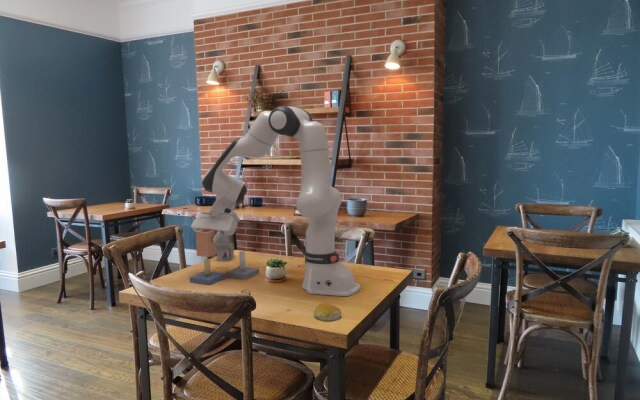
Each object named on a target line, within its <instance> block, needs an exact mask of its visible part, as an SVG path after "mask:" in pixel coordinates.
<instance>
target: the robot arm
mask: <svg viewBox="0 0 640 400" xmlns="http://www.w3.org/2000/svg"><path fill="white" fill-rule="evenodd" d="M279 135H281V136H286V137H290V138H292V137H294V138H296V140H297V141H298V146H299V147H298V149H299V155H300V157H299V158H300V164H301V165H300V167H301V179H300V180H301V183H300V191H299V195H298V197H297V199H296V203H295V205H296V209H297V212H298V214H299V215H301V216H302V217H304V218H308V219H309V223H308V226H307V228H306V231H305V251H304V264H305V270H304V271H305V273H304V278H303V281H302V284H301V286H302V289H304V291H306V292H307V293H308V294H310V295H323V296H324V295H325V296H335V297H338V296H339V297H350V296H353V295H355V294H356V293H357V292H359V290H360V289H361V285H360V283H357V282H355V277H354V273H353V271H352V269H351V270H350V269H349V268H348V267H347V266H346V265H345V264H343V263H342V262H341V261H340V257H341V253H340V252H339V253H337V251H336V250H335V238H336V237H335V233H336V226H337V220H338V214H339V208H340V206H341V204H342V202H343V201H342V199H343V198H342V194H341V192H340V191H339V189H337V188H335V187H334V186H329V178H330V177H329V176H330V174H331V172H332V166H331V158H330V150H329V142H328V137H327V133H326V129H325V127H324V125H323V124H322V123H321V122H319V121H314V120H313V117H312V116H311V114H310V113H309V111H307V110H305V109H303V108H298V107H295V106H289V105H288V106H287V105H278V106H277V107H275V108H273V109H272V110H263V111H261V112H260V113H259V114H258V115H257V117H256V118H255V120H254V121H253V122H252V124H251V126H250V128H249V129H248V131H247V133H246V134H245V135H244V136H242V137H241V138H240V137H239V138H235V139H233V141H232V142H231V143H230V144H229V145H228V147H227V148H225V149H224V151H223V152H222V154H221V156H219V157H218V158H217V160H216V162H215V163H214V164H213V165H212V167H211V168H210V169H208V170H207V172H206V173H205V174H204V175H203V177H202V180H201V184H202V187H203V189H204V191H206V192H209V193H210V194H214V195H216V196H217V199H216V200H215V201H214V202H213V203H212V206H211V207H210V210H209V211H208V212H204V211H202V213H201V212H200V213H199V214H198V215H197V216H196V217H195V218H194V220H193V222H192V223H191V225H190V227H191V229H192V231H193V232H195V233H196V231H200V230H204V229H205V230H215V231H216V235H215V236H214V237H212V239H211V241H212V242H214V243H216V244H217V242H216V241H217V239H219V238H220V237H221V236H222V235H233V236H234V234H235V232H236V230H237V228H238V225H239V224H238V223H239V222H240V221H241V220H240V217H239V216H238V214H237V213H236V212H235V210H234V209H235V207H236V206H239V205H241V204H242V203H243V201H244V198H245V196H246V194H247V193H248V188H247V185H246V183H244V182H243V181H242V180H239V179H237V178H235V177H234V176H231V175H229V174H227V173H226V172H224V171H223V170H224V169H225V167H227V165H228V164H229V162H230V161H231V160H232V159H233V158H236V157H245V158H252V159H257V158H262V157H265V156H266V155H267V154H268V153H269V152H270V151H271V149H272V147H273V146H274V144H275V141H276V140H277V138H278V137H279Z"/></svg>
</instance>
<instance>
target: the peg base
mask: <svg viewBox="0 0 640 400" xmlns="http://www.w3.org/2000/svg"><path fill="white" fill-rule="evenodd" d="M203 267H204V271H202V272H200V273H197V274H194V275H192V276H190V277H189V282H190V283H193V284H194V283H195V284H199V283H200V284H201V285H206V286H207V285H208V286H211V285H213V284H215V283H218V282H220V281H222V280H224V279H226V273H224V272H217V271H211V259H210V258H209V257H205V258H204V260H203Z"/></svg>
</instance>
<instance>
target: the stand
mask: <svg viewBox="0 0 640 400" xmlns="http://www.w3.org/2000/svg"><path fill="white" fill-rule="evenodd" d="M238 256H239V266H237V267H235V268H231V269H229V270H227V271H225V278H226V277H227V278H233V279H240V280H248V279H250V278H252V277H254V276H257V275H259V274H260V268H257V267H256V268H255V267H248V266H246V251H243V250H241V251H239V254H238Z"/></svg>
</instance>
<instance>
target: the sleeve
mask: <svg viewBox="0 0 640 400" xmlns="http://www.w3.org/2000/svg"><path fill="white" fill-rule="evenodd" d="M215 235H216V231H215V230H205V229H204V230H200V231H196V232H195V245H196V248H195V249H196V256H197V257H201V258H202V257H203V258H210V257H213V256H215V255H216V256H217V242H216V243H214V242H212V241H211V239H212V237H214V236H215Z"/></svg>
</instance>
